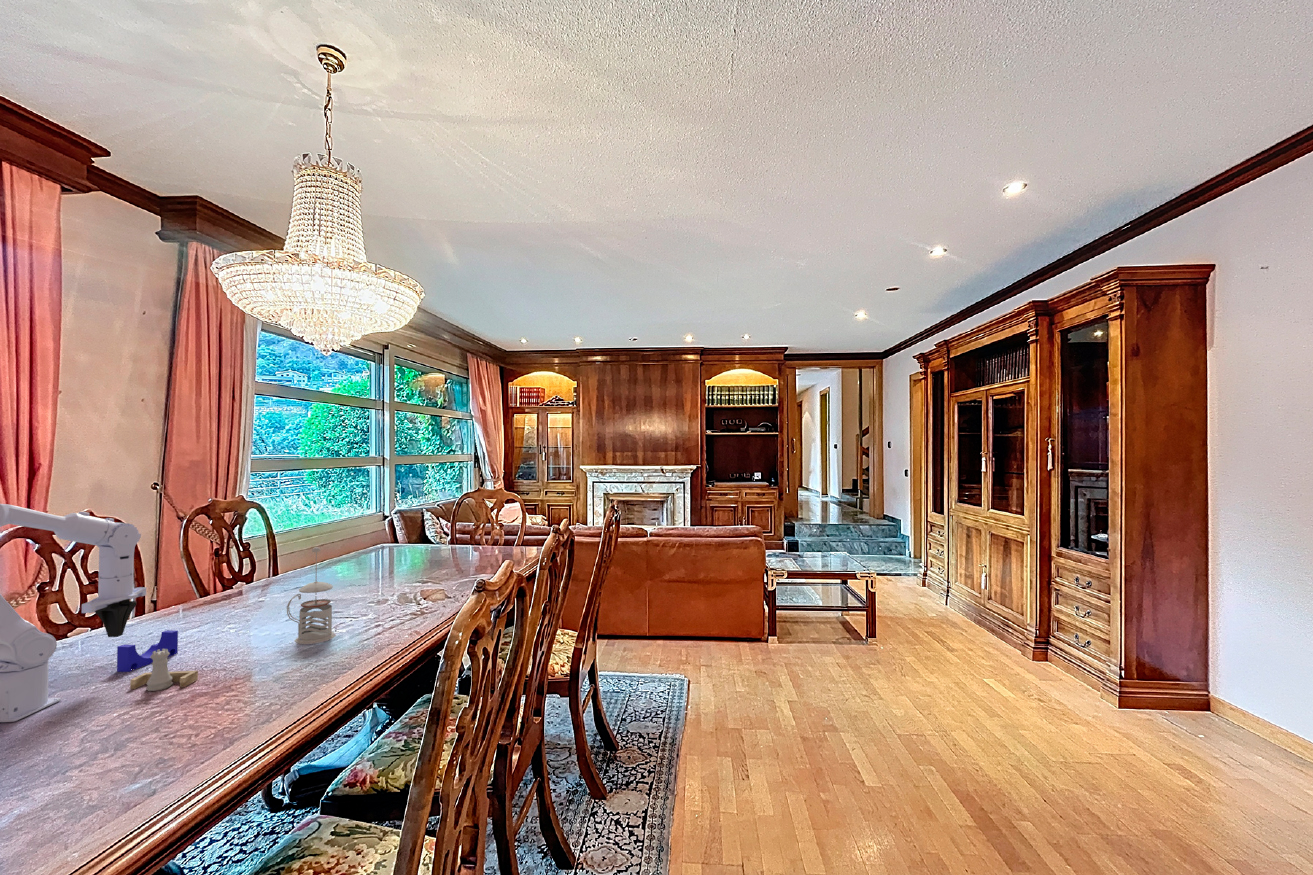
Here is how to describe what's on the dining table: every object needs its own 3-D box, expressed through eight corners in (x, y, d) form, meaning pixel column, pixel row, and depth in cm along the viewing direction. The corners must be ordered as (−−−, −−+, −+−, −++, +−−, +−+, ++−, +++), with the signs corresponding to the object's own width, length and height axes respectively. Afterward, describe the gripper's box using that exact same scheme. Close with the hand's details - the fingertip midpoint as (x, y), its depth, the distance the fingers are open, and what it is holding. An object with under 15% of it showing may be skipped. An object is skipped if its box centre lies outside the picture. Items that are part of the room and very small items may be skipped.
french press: (332, 641, 152) (333, 548, 152) (282, 646, 148) (283, 551, 148) (338, 630, 161) (339, 543, 162) (291, 635, 157) (292, 545, 157)
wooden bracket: (184, 686, 123) (184, 677, 123) (130, 689, 122) (130, 679, 122) (197, 679, 127) (197, 670, 127) (145, 681, 126) (145, 672, 126)
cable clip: (161, 653, 144) (162, 629, 144) (177, 654, 143) (177, 630, 143) (111, 671, 132) (111, 646, 132) (128, 672, 131) (128, 647, 131)
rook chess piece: (172, 681, 126) (172, 645, 126) (174, 687, 123) (174, 650, 123) (145, 687, 123) (145, 650, 123) (146, 693, 120) (147, 656, 120)
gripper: (107, 582, 120) (106, 646, 120) (160, 568, 135) (159, 625, 134) (71, 583, 120) (70, 647, 119) (128, 569, 134) (127, 626, 134)
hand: (115, 635), depth 127 cm, fingers closed
